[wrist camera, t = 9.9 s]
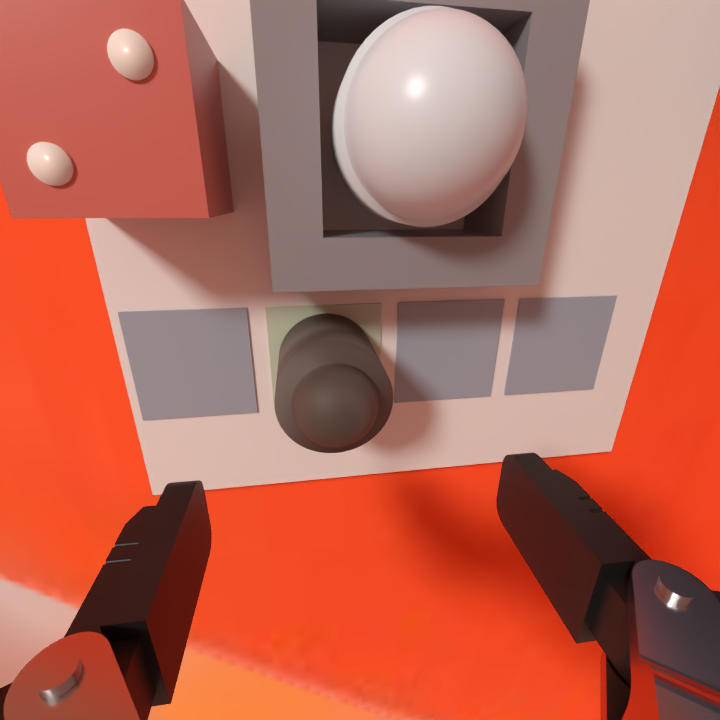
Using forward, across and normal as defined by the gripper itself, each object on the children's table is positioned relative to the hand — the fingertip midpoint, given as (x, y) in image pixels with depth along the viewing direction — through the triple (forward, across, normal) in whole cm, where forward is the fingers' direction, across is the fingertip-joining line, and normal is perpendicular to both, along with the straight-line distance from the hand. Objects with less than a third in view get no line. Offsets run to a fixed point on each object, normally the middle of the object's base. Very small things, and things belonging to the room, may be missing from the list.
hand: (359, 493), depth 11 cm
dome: (+7, -3, -9) cm, 12 cm away
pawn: (+9, 0, 0) cm, 9 cm away
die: (+9, +6, -9) cm, 14 cm away
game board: (+10, -4, -4) cm, 12 cm away
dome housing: (+9, -3, -9) cm, 13 cm away
